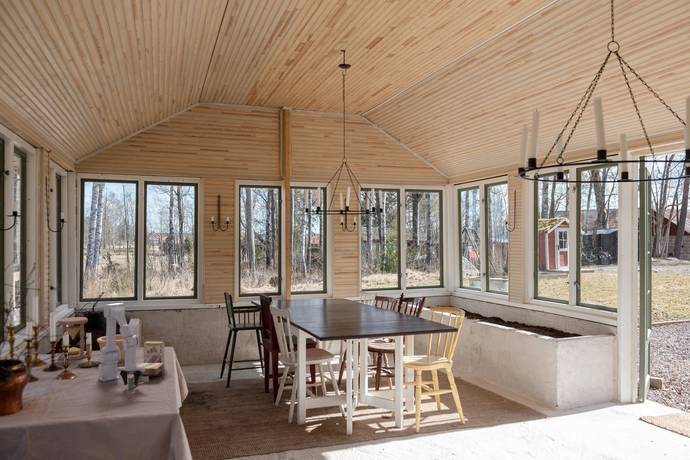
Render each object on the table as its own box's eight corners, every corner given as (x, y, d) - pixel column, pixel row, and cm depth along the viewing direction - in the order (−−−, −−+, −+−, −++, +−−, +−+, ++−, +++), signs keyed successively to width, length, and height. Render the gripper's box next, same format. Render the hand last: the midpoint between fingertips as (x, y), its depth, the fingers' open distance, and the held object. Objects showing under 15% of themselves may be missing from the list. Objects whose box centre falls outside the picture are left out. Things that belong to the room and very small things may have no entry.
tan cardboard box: (127, 380, 309) (127, 368, 309) (136, 375, 321) (136, 362, 321) (156, 380, 308) (156, 368, 308) (164, 375, 320) (164, 362, 320)
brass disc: (136, 385, 301) (136, 383, 301) (132, 383, 305) (132, 381, 305) (145, 383, 304) (145, 382, 304) (141, 381, 308) (141, 380, 308)
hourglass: (52, 358, 363) (51, 320, 363) (74, 353, 379) (74, 316, 379) (72, 361, 356) (71, 322, 356) (94, 355, 372) (93, 317, 372)
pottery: (97, 358, 364) (96, 336, 363) (133, 354, 373) (132, 333, 373) (97, 365, 344) (97, 342, 344) (135, 361, 353) (135, 339, 353)
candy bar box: (143, 370, 331) (143, 342, 331) (147, 368, 336) (146, 341, 336) (161, 370, 330) (161, 343, 330) (165, 368, 335) (164, 341, 335)
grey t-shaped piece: (122, 389, 293) (122, 377, 293) (134, 381, 308) (134, 370, 308) (137, 389, 293) (137, 377, 293) (148, 381, 308) (148, 370, 308)
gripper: (113, 361, 291) (114, 387, 291) (141, 361, 290) (141, 387, 290) (119, 357, 298) (120, 383, 298) (146, 357, 297) (146, 383, 297)
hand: (130, 384), depth 294 cm, fingers open, 5 cm apart
